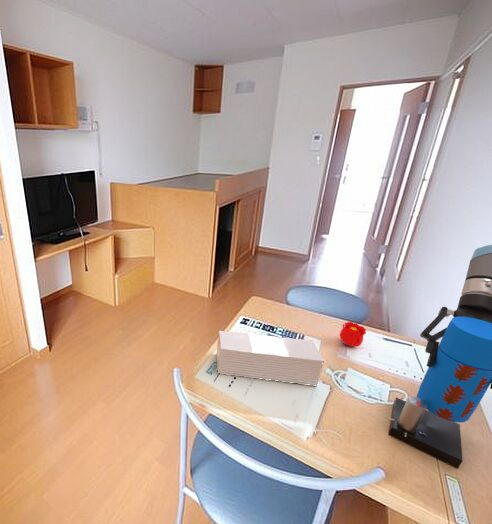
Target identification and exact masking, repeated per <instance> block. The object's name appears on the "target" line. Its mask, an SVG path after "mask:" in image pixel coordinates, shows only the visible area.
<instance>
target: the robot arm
mask: <svg viewBox="0 0 492 524" xmlns="http://www.w3.org/2000/svg"><path fill="white" fill-rule="evenodd" d="M460 293H461V294H460V297H459V300H458V304H457V307H456V309H455V310H453V309H449V308H448V307H447V306H442V307H441V308H440V309H439V310H438V314H437V316H436V317H435V318H434V319H433V320H432V321H431V322H430V323H429V324H428V325H427V326H426V327H425V328H424V330H423V331H422V332H420V334H419V336H420V337H421V339H422V338H423V339H425V340H426V342H427V343H426V346H425V350H424V351H425V353H426V354H429V356H428V359H427V361H426V362H427V363H426V367H428V368H429V367H431V366H433V363H434V359H435V356H436V352H437V349H438V346H439V344H440V341H439V340H441V339H442V337H443V335H444V333H445V331H446V329H447V327H445V328H443V329H441V330H439V331H438V332H436V333H434V334H430V333H431V332H433V330H434V329H435V328H436V327H437V326H438V325H439V324H440V323H441V322H442V321H443V320H444V318H449V317H450V316H452V318H454V317H470V318H475V319H479V320H483V321H486V322H489V323H492V244H486V245H480V246H479V247H477V248H475V250H474V251H473V253H472V256H471V259H470V260H469V264H468V268H467V272H466V275H465V280H464V283H463V286H462V289H461V292H460ZM489 386H490V387H489V389H490V390H492V382H491V384H490V385H489Z"/></svg>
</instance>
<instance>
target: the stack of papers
mask: <svg viewBox="0 0 492 524" xmlns="http://www.w3.org/2000/svg"><path fill="white" fill-rule="evenodd" d="M217 338H218V339H217V345H216V346H217V347H216V352H215V353H216V354H215V355H216V369H217V370H218V372H217V374H218V373H220V374H219V375H223V374H226V375H225V376H231V375H235V376H234V377H238V376H244V377H243V378H246V377H252V378H251V379H253V378H262V379H271V380H278V381H285V382H293V383H300V384H310V385H316V386H317V387H318V384H319V380H320V376H321V373H322V370H323V368H324V367H323V366H324V362H325V360H324V359H323V357H322V355H321V353H320V351H319V349H318V347H317V345H316V343H315V341H314V340H308V339H300V338H299V339H298V338H292V337H291V338H290V337H281V336H273V335H264V334H255V333H246V332H236V331H228V330H227V331H226V330H218V337H217Z"/></svg>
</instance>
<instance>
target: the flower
mask: <svg viewBox="0 0 492 524" xmlns="http://www.w3.org/2000/svg"><path fill="white" fill-rule="evenodd" d="M366 334H367V329H366V328H365V327H364V326H362V325H359V324H358V323H357V322H354V323H353V322H352V321H347V322H345V321H344V323H342V328H341V330H340V333H339V338H340V339H341V341H342V343H344V344H345V345H347V346H351V347H360V346H361V345H362V344H363V341H364V335H366Z"/></svg>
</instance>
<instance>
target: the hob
mask: <svg viewBox="0 0 492 524" xmlns="http://www.w3.org/2000/svg"><path fill="white" fill-rule="evenodd" d="M406 401H407V400H406ZM406 401H405V400H403V399H401V398H399V397H395V400H394V402H393V404H392V409H391V415H390V417H387V419H388V420H390V423H389V428H388V436H389V437H392V438H394V439H396V440H397V441H400V442H402V443H404V444H406V445H408V446H411V447H413V448H414V449H416V450H419V451H420V452H422V453H424V454H427V455H429V456H431V457H433V458H434V459H437V460H439V461H441V462H443V463H445V464H447V465H450V466H451V467H453V468H455V469H459V468H460V466H461V465H462V463H463V462H464V460H463V447H462V435H461V424H460V423H459V422H453V421H449V420H446V419H443V418H441V417H438V416H437V415H435V414H433V413H431V412H430V411H428V410H427V409H426V411H425V413H424V416H423V418H422V420H421V422H420V424H419V426H418V428H417V430H416V432H414V433H410V432H407V431H405V430H403V429H402V428H401V427H400V426H399V425H398V423H397V421H398V419H399V417H400V415H401V413H402V410H403V408H404V406H405V404H406Z"/></svg>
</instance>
